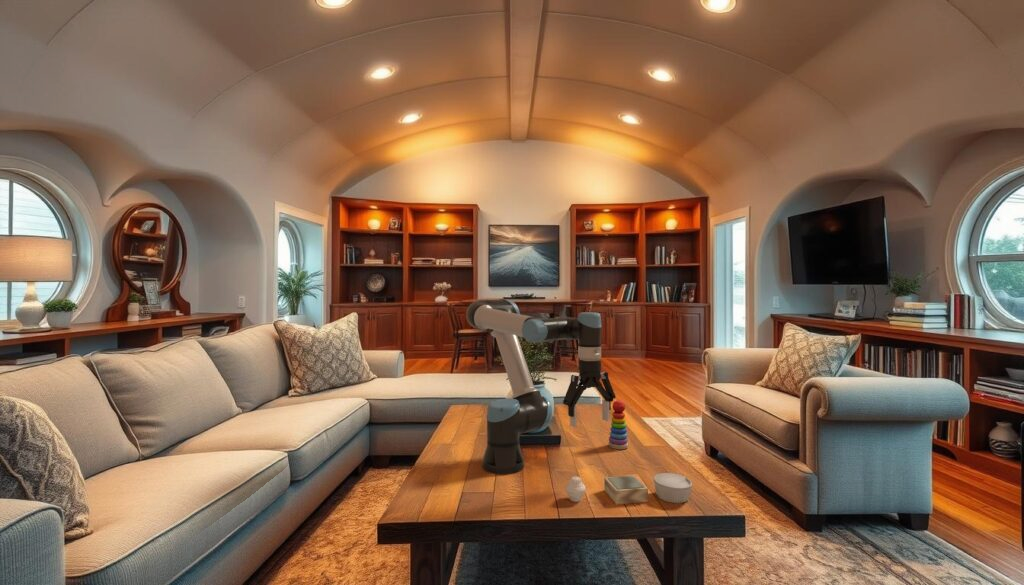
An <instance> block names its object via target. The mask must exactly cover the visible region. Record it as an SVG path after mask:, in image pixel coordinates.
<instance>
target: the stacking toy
mask: <svg viewBox="0 0 1024 585" xmlns="http://www.w3.org/2000/svg"><path fill="white" fill-rule="evenodd" d="M612 410H613V411H614V412H612V417H611V419H610V420H611V422H610V425H611V426H610V432H609V437H608V441H609V442H608V446H609V448H610V449H611V448H612V449H615V450H625V449H627V448H629V443H628V433H627V431H628V429H627V424H626V418H625V417H626V414H625V412H624V411H625V410H626V405H625V402H624V401H622V400H618V399H616V400H615V401H613V402H612Z"/></svg>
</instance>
